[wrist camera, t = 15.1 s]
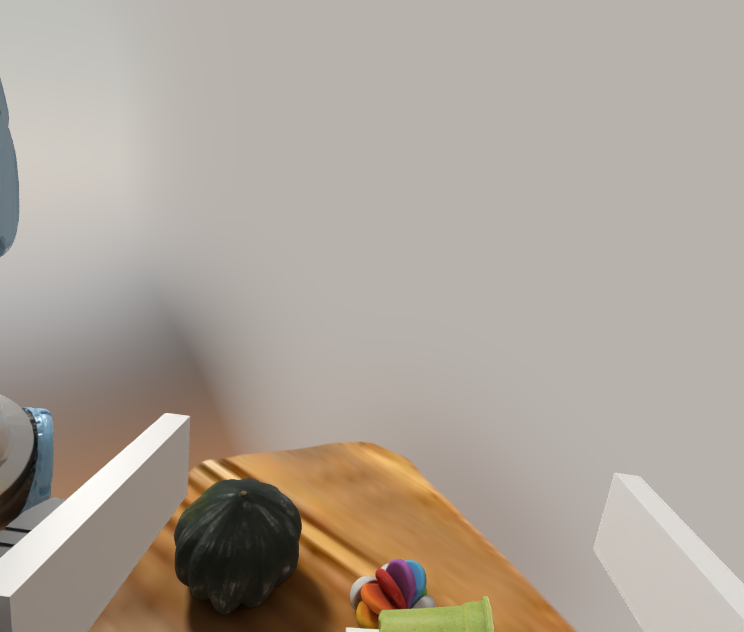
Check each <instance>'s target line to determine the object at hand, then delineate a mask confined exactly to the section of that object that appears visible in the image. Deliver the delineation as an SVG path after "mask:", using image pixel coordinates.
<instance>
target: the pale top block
mask: <svg viewBox="0 0 744 632" xmlns="http://www.w3.org/2000/svg"><path fill="white" fill-rule="evenodd" d="M346 632H379V629H363V628H346Z"/></svg>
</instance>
